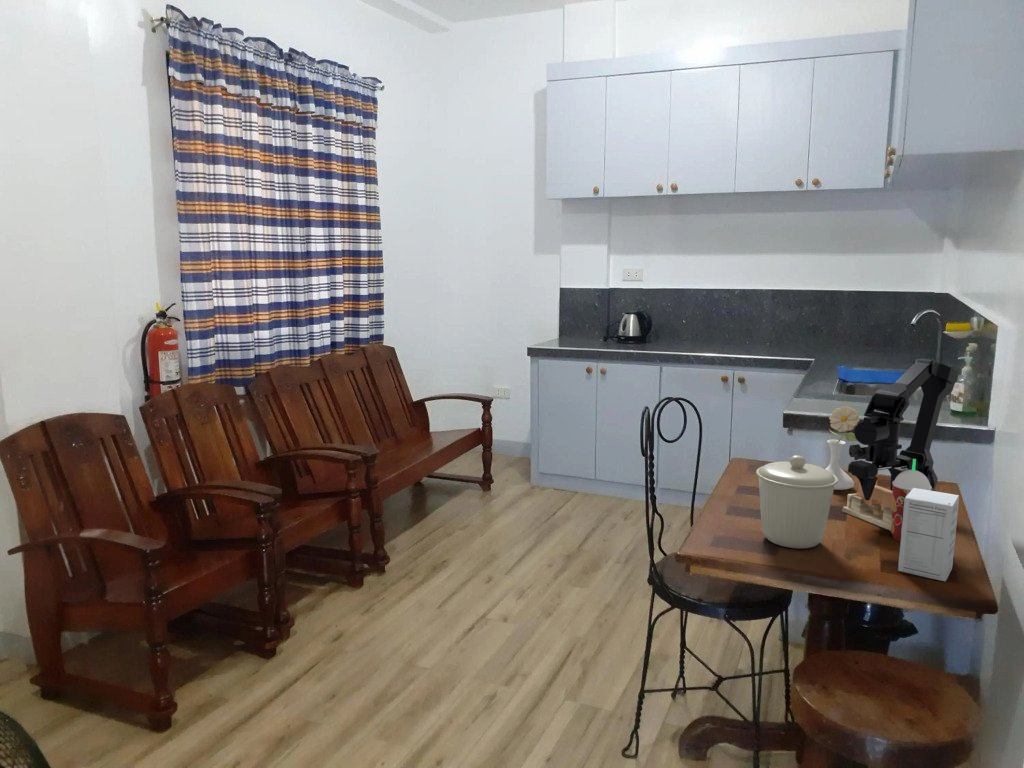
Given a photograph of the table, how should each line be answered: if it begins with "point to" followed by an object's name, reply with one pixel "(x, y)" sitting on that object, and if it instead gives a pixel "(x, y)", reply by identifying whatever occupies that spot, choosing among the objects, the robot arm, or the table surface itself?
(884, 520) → the display stand
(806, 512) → the canister
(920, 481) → the smoothie
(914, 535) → the supplement box
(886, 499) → the tapered tan board
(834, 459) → the flower in vase
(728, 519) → the table surface
